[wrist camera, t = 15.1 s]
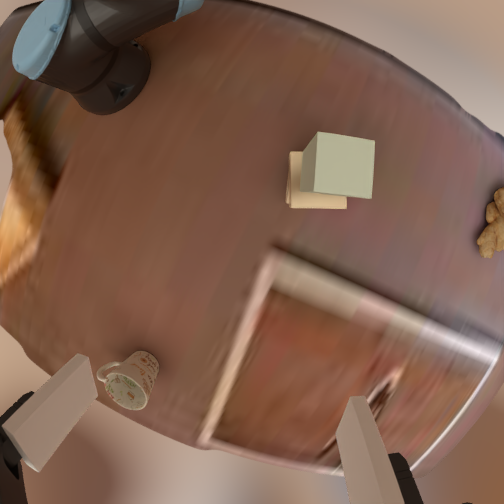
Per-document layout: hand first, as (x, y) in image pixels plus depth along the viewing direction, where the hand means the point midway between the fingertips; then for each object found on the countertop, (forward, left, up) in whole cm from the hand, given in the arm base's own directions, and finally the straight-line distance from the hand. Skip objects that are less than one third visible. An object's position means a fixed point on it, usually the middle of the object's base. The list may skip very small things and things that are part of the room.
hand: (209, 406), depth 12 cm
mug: (+24, -21, -33) cm, 46 cm away
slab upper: (-12, +8, -29) cm, 32 cm away
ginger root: (-13, +48, -33) cm, 60 cm away
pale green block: (-13, +8, -25) cm, 29 cm away
